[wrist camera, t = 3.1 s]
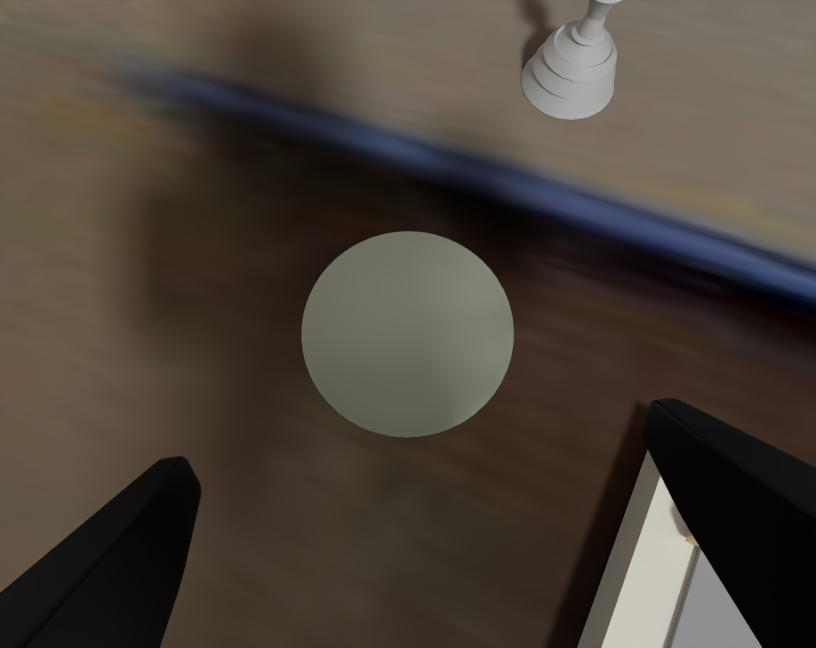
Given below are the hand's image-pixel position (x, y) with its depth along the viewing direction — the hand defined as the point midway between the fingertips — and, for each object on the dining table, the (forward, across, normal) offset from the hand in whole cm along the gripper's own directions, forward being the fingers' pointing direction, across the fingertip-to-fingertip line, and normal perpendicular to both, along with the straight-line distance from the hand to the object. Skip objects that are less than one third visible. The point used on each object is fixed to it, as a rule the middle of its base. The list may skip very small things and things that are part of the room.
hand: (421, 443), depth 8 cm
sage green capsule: (+9, 0, +5) cm, 10 cm away
